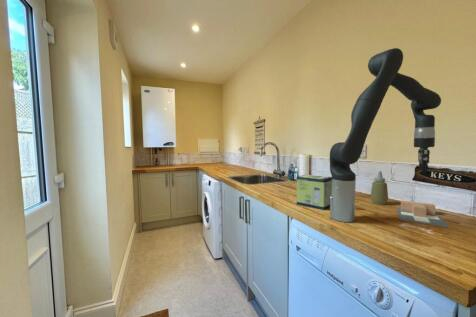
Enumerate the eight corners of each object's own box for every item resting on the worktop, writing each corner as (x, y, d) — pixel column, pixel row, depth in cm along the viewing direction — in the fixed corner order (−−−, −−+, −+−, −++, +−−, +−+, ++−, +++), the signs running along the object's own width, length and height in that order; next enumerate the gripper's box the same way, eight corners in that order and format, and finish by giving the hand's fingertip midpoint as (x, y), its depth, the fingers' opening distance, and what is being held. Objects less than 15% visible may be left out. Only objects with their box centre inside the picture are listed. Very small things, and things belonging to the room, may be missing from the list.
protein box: (305, 200, 121) (305, 174, 121) (332, 206, 110) (333, 177, 110) (295, 204, 114) (296, 176, 113) (324, 210, 103) (324, 179, 102)
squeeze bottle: (373, 205, 110) (374, 172, 109) (367, 201, 118) (368, 170, 117) (390, 206, 108) (392, 172, 107) (384, 202, 116) (385, 170, 115)
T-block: (402, 214, 95) (402, 205, 95) (400, 208, 104) (400, 200, 104) (438, 219, 88) (438, 209, 88) (433, 212, 97) (433, 204, 97)
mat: (400, 221, 88) (400, 219, 88) (396, 207, 106) (396, 206, 106) (449, 228, 79) (449, 227, 79) (436, 212, 98) (436, 211, 98)
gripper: (412, 137, 108) (411, 169, 108) (415, 137, 96) (414, 172, 97) (432, 137, 103) (431, 169, 104) (437, 136, 92) (436, 173, 93)
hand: (423, 170), depth 101 cm, fingers open, 8 cm apart
